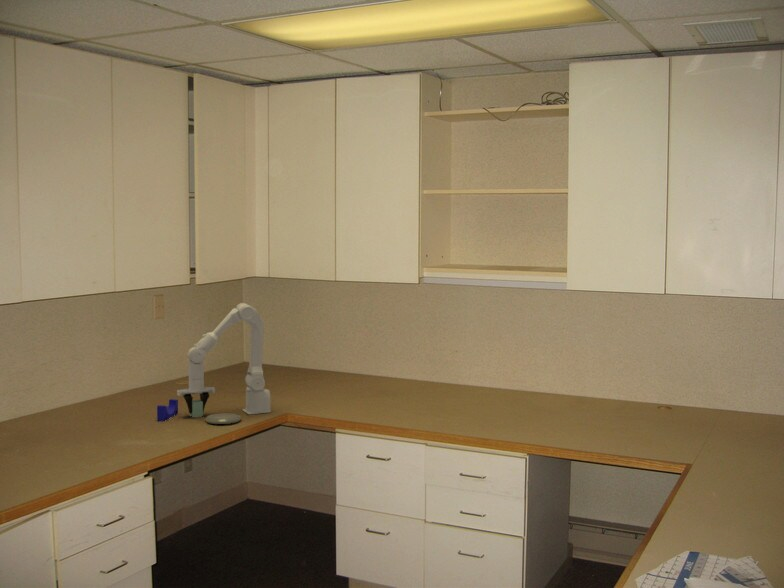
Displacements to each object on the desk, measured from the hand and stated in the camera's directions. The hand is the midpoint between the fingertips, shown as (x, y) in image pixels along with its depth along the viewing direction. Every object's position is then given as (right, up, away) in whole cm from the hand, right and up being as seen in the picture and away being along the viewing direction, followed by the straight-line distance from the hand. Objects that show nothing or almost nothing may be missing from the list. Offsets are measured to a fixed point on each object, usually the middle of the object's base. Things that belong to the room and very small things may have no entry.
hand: (196, 412), depth 313 cm
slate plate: (+12, -3, -7) cm, 14 cm away
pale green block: (0, -2, 0) cm, 2 cm away
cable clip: (-11, -2, -2) cm, 12 cm away
